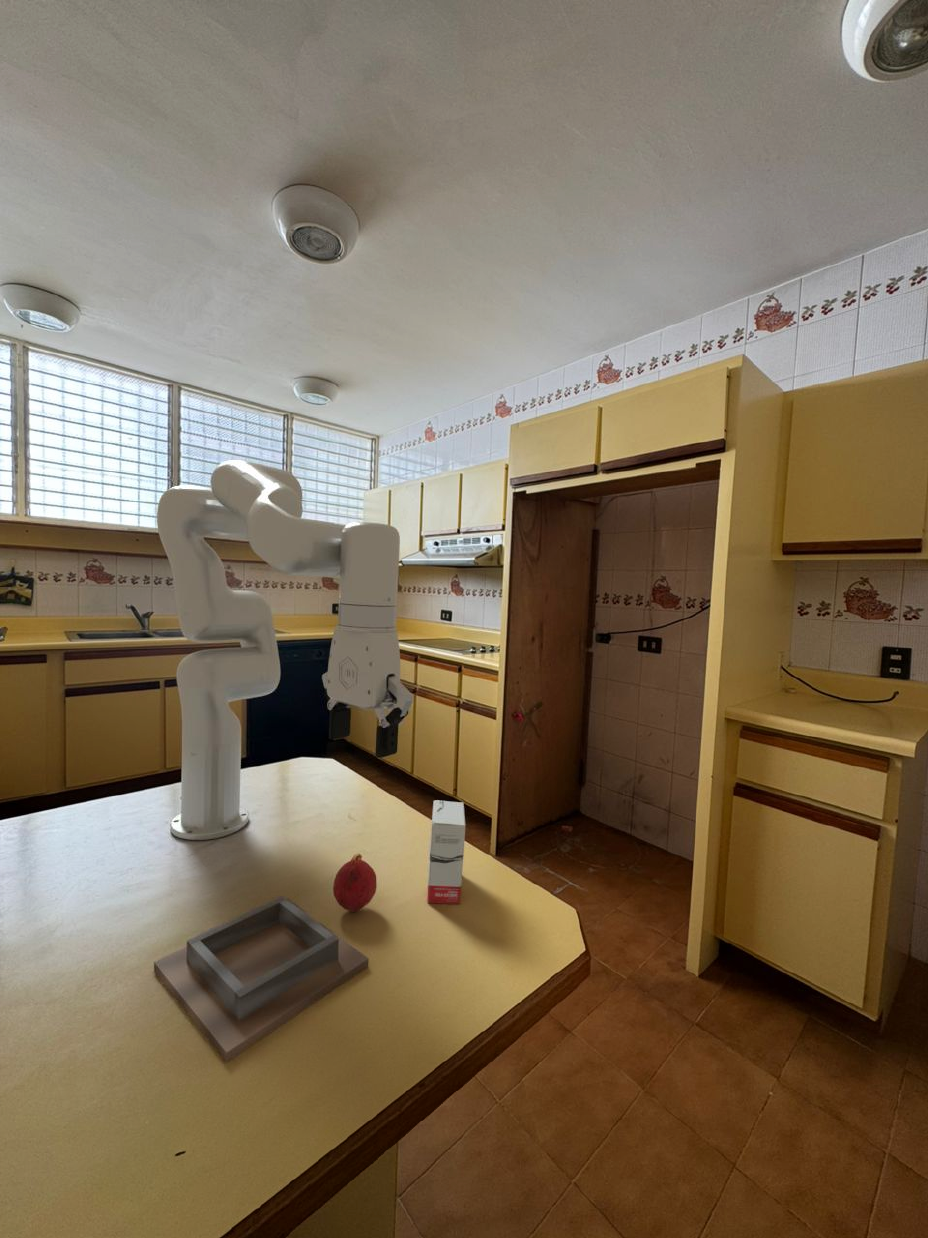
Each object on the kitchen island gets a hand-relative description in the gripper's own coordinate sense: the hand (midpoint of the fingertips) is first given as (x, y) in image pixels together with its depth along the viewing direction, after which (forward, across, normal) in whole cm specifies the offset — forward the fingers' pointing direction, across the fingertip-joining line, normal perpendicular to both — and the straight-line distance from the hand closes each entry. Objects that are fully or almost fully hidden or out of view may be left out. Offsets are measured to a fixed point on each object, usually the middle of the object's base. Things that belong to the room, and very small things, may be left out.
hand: (361, 746), depth 71 cm
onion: (+23, 0, 0) cm, 23 cm away
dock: (+23, +1, -14) cm, 27 cm away
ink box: (+24, +5, +13) cm, 27 cm away
